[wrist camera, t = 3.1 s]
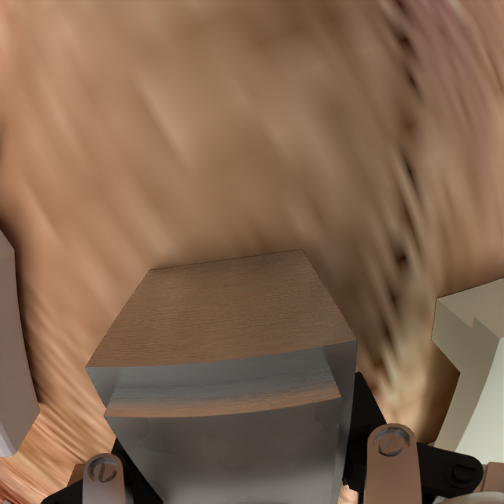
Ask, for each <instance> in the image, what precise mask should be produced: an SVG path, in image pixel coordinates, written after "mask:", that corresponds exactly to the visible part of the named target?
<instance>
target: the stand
mask: <svg viewBox="0 0 504 504" xmlns="http://www.w3.org/2000/svg"><path fill="white" fill-rule="evenodd" d="M431 340H432V341H433V342H434V343H435V344H436V345H437V346H438V348H439V349H440V350H441V351H442V352H443V353H444V354H445V355H446V357H447V358H448V359H449V360H450V361H451V362H452V363H453V364H454V366H455V367H456V368H457V369H458V370H459V371H460V376H459V380H458V383H457V386H456V389H455V392H454V395H453V398H452V401H451V404H450V407H449V410H448V412H447V415H446V418H445V420H444V423H443V425H442V428H441V430H440V433H439V435H438V438H437V440H436V441H434V442H432V443H430V444H427V445H429V446H432V447H436V448H440V449H444V450H448V451H453V452H457V453H461V454H466V455H470V456H473V457H475V458H476V459H478V460H479V461H480V462H481V464H488V462H500V463H504V278H502V279H499V280H496V281H493V282H490V283H487V284H484V285H481V286H478V287H474V288H471V289H468V290H465V291H462V292H458V293H455V294H452V295H448V296H445V297H441V298H438V299H437V302H436V310H435V318H434V325H433V331H432V337H431Z"/></svg>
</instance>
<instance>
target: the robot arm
mask: <svg viewBox="0 0 504 504" xmlns="http://www.w3.org/2000/svg"><path fill="white" fill-rule="evenodd" d="M342 482H343V486H344V485H348V486H349V489H352V490H354V491H357V504H504V463H500V462H488V464H481V462H480V461H479V460H478V459H476V458H475V457H473V456H470V455H466V454H461V453H457V452H453V451H448V450H444V449H440V448H436V447H432V446H429V445H425V444H421V443H418V442H416V438H415V435H414V433H413V432H412V431H411V429H410V428H408V427H406V426H405V425H401V424H396V423H390V424H387V423H386V421H385V419H384V417H383V415H382V413H381V411H380V409H379V407H378V405H377V403H376V401H375V399H374V397H373V395H372V393H371V391H370V389H369V387H368V385H367V383H366V381H365V379H364V377H363V375H362V374H361V373H360V372H356V373H355V381H354V392H353V402H352V412H351V421H350V429H349V437H348V444H347V451H346V457H345V464H344V470H343V476H342ZM163 502H164V501H163V500H162V499H161V498H160V496H159V495H158V494H157V493H156V491H155V490H154V489H153V488H152V486H151V485H150V484H149V483H148V481H147V480H146V479H145V477H144V476H143V475H142V473H141V472H140V471H139V469H138V468H137V466H136V465H135V464H134V462H133V461H132V459H131V458H130V457H129V455H128V454H127V452H126V451H125V449H124V448H123V446H122V445H121V443H120V442H119V440H118V439H117V437H116V440H115V443H114V446H113V449H112V452H111V454H109V453H102V454H98V455H96V456H94V457H92V458H91V459H90V460H89V461H87V463H86V465H85V466H84V471H83V479H81V480H79V481H77V482H75V483H73V484H71V485H70V486H68V487H66V488H64V489H62V490H60V491H58V492H56V493H54V494H52V495H50V496H48V497H46V498H45V499H44V500H43V501H42V502H41V504H163Z"/></svg>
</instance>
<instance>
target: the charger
mask: <svg viewBox="0 0 504 504" xmlns="http://www.w3.org/2000/svg"><path fill="white" fill-rule="evenodd" d="M39 412H40V408H39V404H38V401H37V397H36V394H35V390H34V386H33V382H32V378H31V374H30V370H29V365H28V361H27V356H26V351H25V346H24V340H23V334H22V328H21V321H20V314H19V306H18V297H17V286H16V273H15V252H14V248H13V247H12V246H11V244H10V243H9V241H8V240H7V238H6V237H5V236H4V234H3V233H2V231H1V230H0V457H10V456H13V455H14V454H16V452H17V451H18V449H19V447H20V445H21V443H22V442H23V440H24V438H25V436H26V435H27V433H28V431H29V430H30V428H31V426H32V424H33V423H34V421H35V419H36V418H37V416H38V414H39Z"/></svg>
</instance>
